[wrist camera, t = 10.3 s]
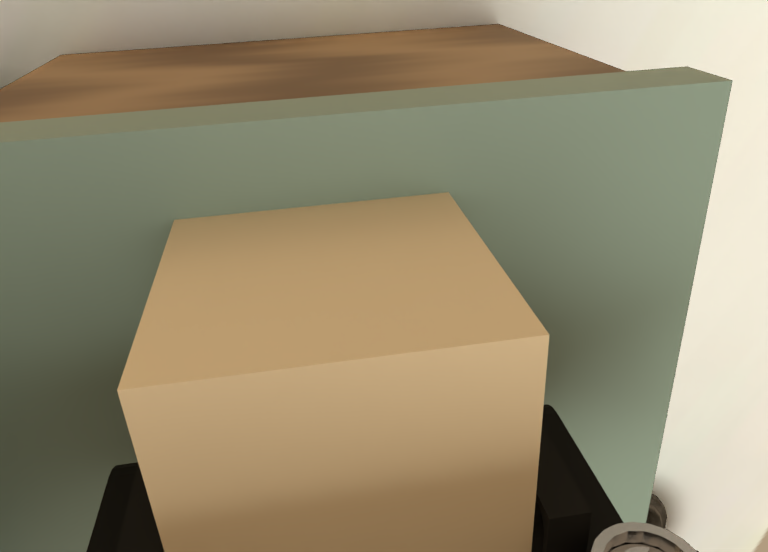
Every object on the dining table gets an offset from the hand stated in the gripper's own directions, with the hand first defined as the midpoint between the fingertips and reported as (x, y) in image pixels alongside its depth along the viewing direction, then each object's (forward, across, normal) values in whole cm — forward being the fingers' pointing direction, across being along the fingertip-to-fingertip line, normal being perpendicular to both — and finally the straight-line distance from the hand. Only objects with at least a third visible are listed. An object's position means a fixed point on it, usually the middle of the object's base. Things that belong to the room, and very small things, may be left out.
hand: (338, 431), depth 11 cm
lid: (+1, 0, 0) cm, 1 cm away
